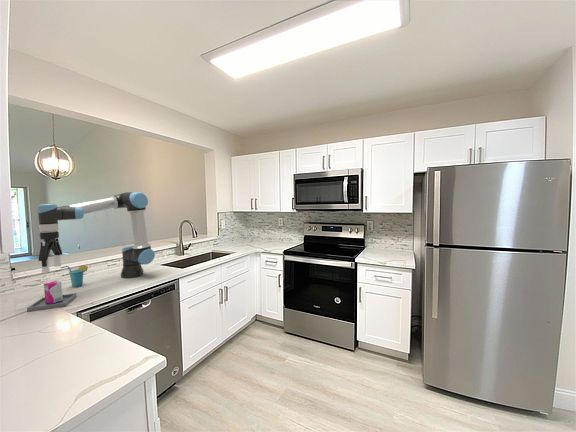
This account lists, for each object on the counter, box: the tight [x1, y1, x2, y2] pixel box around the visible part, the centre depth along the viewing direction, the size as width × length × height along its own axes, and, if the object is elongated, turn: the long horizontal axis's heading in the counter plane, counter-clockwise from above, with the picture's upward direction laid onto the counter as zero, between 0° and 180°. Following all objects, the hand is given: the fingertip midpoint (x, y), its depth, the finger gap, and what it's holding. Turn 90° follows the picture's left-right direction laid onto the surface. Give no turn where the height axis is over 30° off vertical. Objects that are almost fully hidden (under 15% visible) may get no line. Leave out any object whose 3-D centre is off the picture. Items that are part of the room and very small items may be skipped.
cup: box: [59, 264, 89, 288], centre depth 165 cm, size 14×8×15 cm, turn 129°
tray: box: [26, 292, 78, 313], centre depth 137 cm, size 16×16×2 cm
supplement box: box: [43, 280, 63, 305], centre depth 137 cm, size 6×6×12 cm
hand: (52, 269), depth 136 cm, fingers open, 13 cm apart
